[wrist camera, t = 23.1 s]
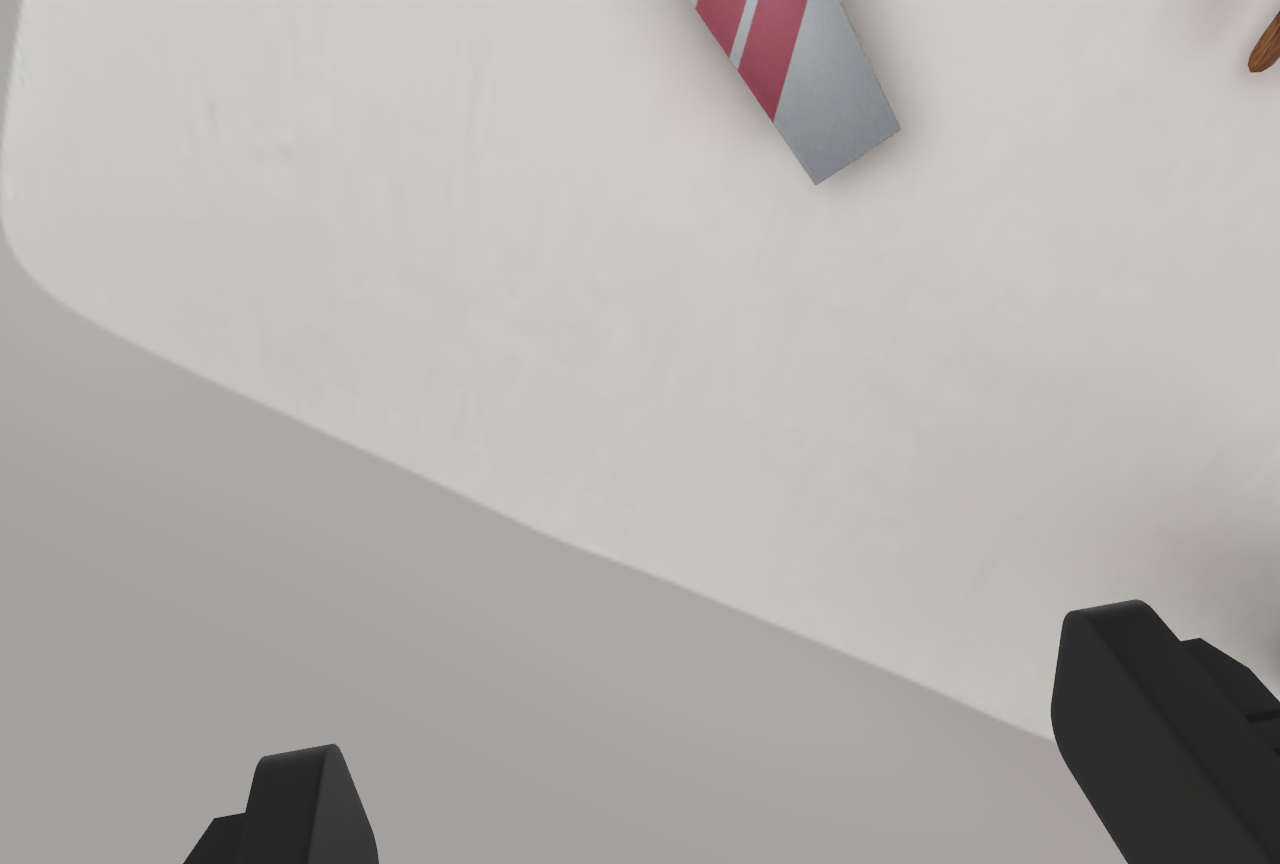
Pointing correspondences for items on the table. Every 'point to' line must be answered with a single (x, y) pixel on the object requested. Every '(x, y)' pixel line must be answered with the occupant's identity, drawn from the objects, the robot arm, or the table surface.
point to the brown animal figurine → (1266, 48)
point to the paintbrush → (805, 76)
